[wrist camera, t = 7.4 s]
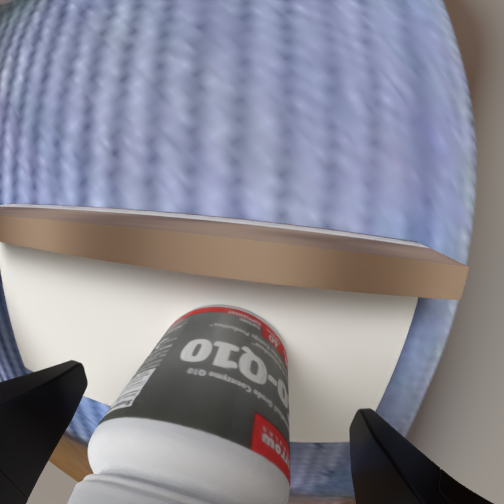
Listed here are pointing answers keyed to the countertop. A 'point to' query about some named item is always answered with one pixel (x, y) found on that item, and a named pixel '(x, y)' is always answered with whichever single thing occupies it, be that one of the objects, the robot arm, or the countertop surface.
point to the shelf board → (217, 297)
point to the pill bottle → (198, 419)
